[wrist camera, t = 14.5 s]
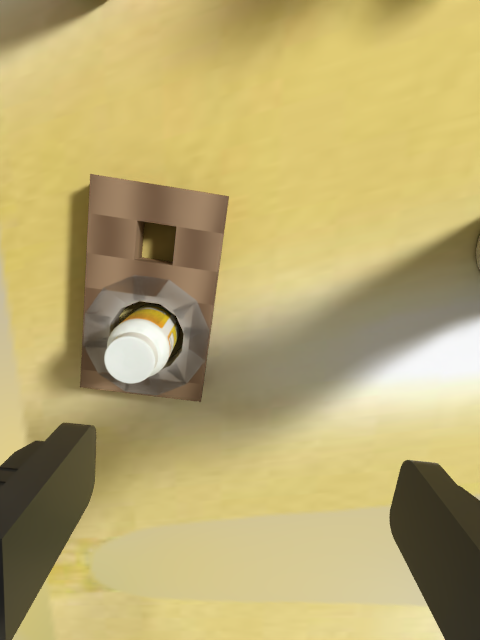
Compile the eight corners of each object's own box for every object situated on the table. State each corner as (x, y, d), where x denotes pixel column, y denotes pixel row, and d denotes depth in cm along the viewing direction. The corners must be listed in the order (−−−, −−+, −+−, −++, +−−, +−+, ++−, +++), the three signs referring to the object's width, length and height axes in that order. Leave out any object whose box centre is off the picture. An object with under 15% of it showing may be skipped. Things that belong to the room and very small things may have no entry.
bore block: (228, 199, 35) (228, 196, 32) (202, 388, 40) (200, 401, 37) (101, 178, 34) (90, 174, 31) (91, 375, 39) (80, 387, 36)
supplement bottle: (189, 337, 38) (177, 372, 29) (146, 361, 39) (121, 404, 29) (161, 293, 37) (139, 315, 28) (117, 319, 37) (81, 350, 28)
